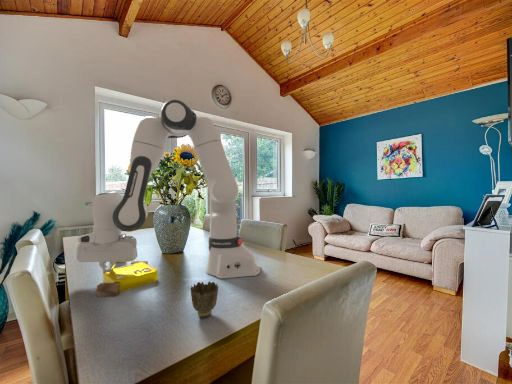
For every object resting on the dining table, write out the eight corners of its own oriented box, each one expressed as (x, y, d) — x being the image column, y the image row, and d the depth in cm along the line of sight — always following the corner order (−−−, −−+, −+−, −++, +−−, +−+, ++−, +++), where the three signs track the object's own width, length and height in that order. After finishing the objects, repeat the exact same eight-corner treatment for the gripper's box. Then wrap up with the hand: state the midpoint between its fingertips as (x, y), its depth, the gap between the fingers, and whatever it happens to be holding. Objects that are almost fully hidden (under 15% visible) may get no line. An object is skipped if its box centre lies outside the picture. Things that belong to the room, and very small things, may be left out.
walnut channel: (147, 269, 103) (147, 261, 102) (116, 296, 78) (116, 285, 78) (133, 269, 102) (133, 261, 102) (96, 296, 77) (96, 285, 77)
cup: (219, 308, 70) (219, 280, 70) (216, 322, 63) (216, 292, 63) (193, 308, 70) (193, 281, 70) (187, 323, 63) (187, 292, 62)
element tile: (143, 271, 101) (143, 260, 101) (159, 281, 91) (159, 268, 90) (101, 282, 90) (101, 269, 90) (115, 294, 80) (115, 280, 80)
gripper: (140, 233, 93) (140, 269, 93) (84, 234, 92) (85, 270, 92) (132, 237, 87) (133, 275, 87) (73, 238, 86) (73, 276, 86)
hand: (108, 273), depth 90 cm, fingers closed
